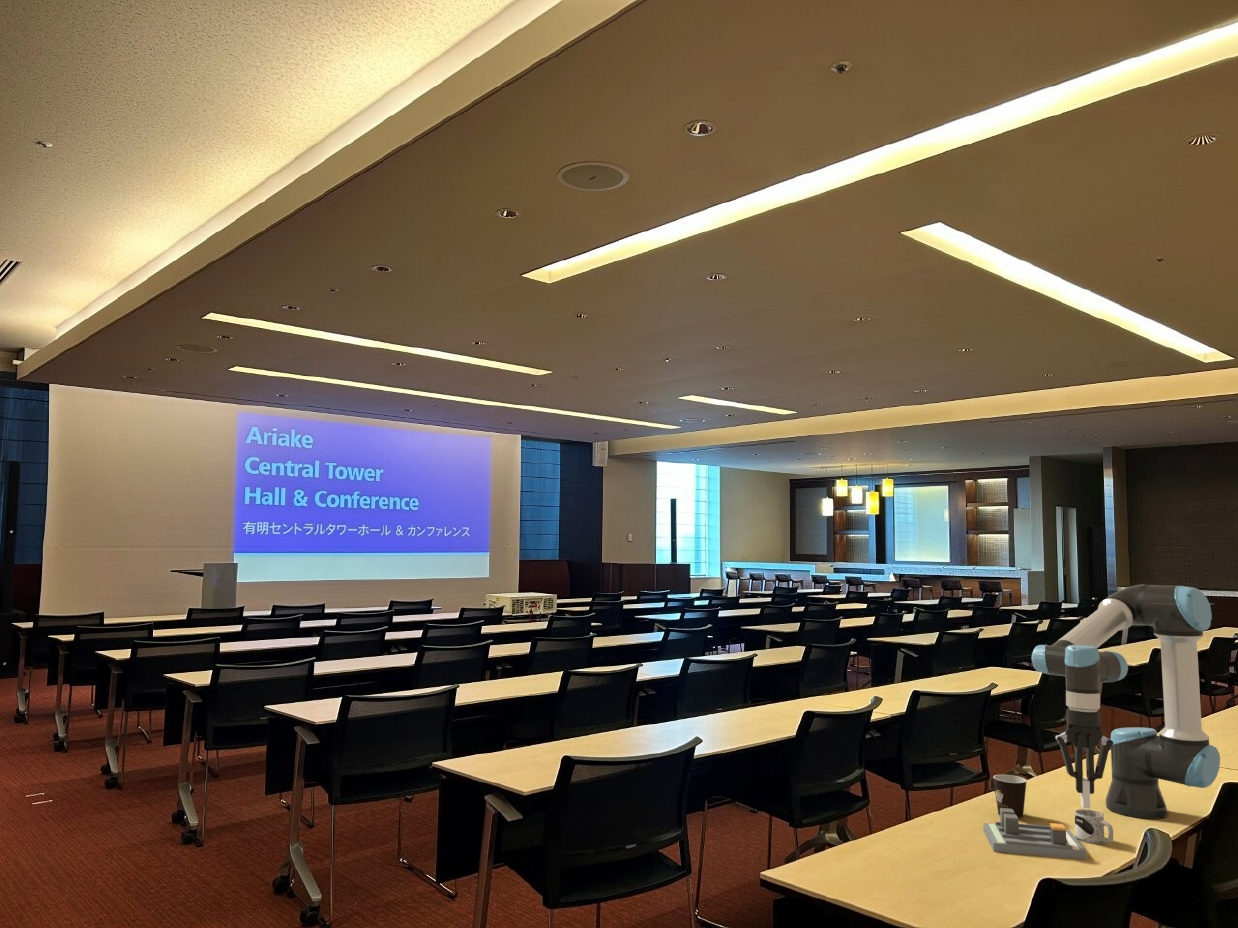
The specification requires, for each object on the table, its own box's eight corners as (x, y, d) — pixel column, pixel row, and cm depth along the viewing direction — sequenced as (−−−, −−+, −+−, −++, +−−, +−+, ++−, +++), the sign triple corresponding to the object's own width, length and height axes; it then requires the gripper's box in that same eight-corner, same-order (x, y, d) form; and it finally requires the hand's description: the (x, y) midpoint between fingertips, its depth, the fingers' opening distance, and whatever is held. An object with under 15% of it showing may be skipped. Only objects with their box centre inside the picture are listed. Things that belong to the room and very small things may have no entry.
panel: (1069, 837, 230) (1069, 827, 230) (1086, 859, 215) (1086, 848, 215) (983, 830, 235) (983, 820, 235) (993, 851, 220) (993, 839, 220)
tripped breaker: (1063, 842, 220) (1062, 823, 221) (1066, 847, 217) (1065, 827, 217) (1050, 841, 221) (1049, 822, 221) (1053, 846, 218) (1052, 826, 218)
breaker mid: (1016, 832, 227) (1015, 814, 228) (1018, 836, 224) (1018, 818, 225) (1003, 831, 228) (1003, 813, 228) (1006, 835, 225) (1005, 817, 225)
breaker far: (1012, 826, 232) (1012, 808, 233) (1015, 830, 229) (1014, 812, 230) (1000, 825, 233) (999, 807, 233) (1002, 829, 230) (1002, 811, 230)
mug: (1069, 836, 231) (1068, 810, 232) (1087, 833, 234) (1086, 807, 234) (1103, 849, 222) (1102, 822, 222) (1122, 846, 225) (1121, 819, 225)
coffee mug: (1031, 821, 244) (1030, 783, 244) (997, 818, 245) (996, 781, 246) (1020, 808, 255) (1019, 772, 256) (988, 806, 257) (988, 770, 258)
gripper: (1107, 707, 222) (1110, 804, 220) (1051, 704, 225) (1053, 799, 223) (1116, 713, 215) (1119, 813, 213) (1058, 709, 218) (1060, 808, 216)
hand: (1085, 806), depth 218 cm, fingers closed
